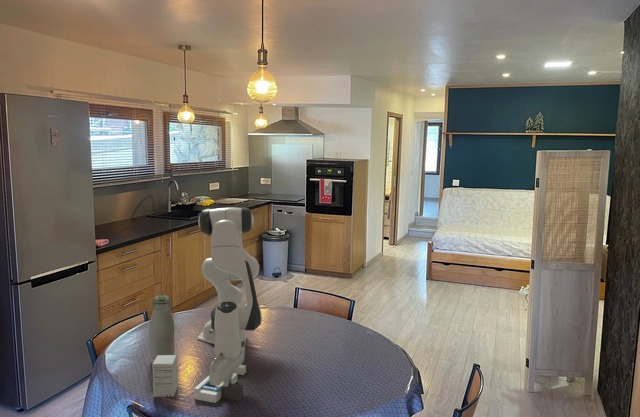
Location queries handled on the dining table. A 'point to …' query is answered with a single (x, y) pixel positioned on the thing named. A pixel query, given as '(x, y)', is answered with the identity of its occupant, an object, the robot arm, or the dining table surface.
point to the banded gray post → (230, 390)
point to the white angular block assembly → (212, 393)
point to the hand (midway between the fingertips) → (227, 384)
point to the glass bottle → (161, 327)
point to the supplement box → (165, 375)
